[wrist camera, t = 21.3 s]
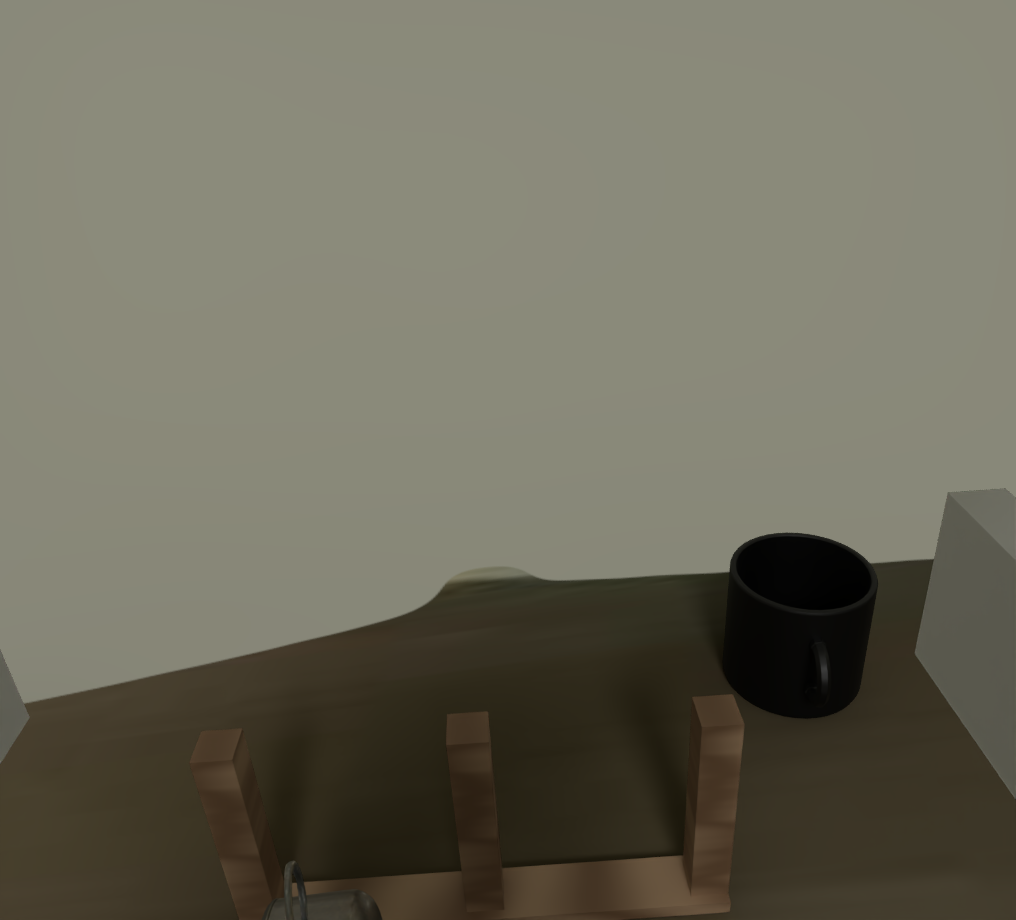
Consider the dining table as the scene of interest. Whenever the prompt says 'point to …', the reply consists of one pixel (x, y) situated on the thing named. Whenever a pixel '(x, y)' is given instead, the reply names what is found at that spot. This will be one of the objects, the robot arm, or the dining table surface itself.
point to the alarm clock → (320, 902)
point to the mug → (798, 623)
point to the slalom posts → (497, 839)
